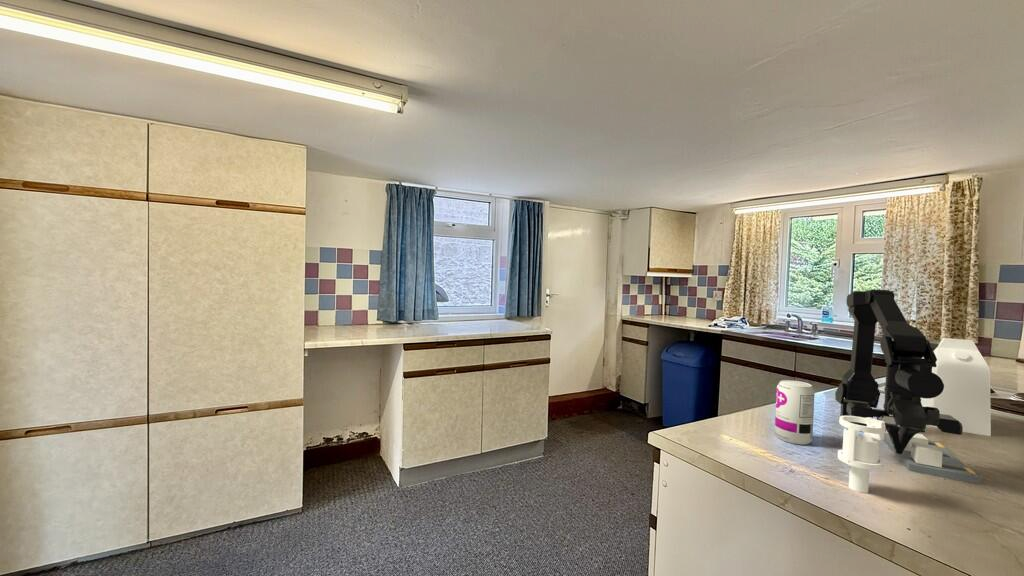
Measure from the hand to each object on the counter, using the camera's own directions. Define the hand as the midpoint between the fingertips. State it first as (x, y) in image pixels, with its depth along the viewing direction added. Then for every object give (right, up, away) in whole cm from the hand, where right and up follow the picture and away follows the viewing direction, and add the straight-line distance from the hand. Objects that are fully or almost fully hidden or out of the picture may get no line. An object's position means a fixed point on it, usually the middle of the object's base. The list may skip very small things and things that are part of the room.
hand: (898, 453), depth 95 cm
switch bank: (+10, -3, +4) cm, 11 cm away
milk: (+42, -3, +28) cm, 51 cm away
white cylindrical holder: (-19, -3, -12) cm, 23 cm away
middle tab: (+8, -1, +5) cm, 9 cm away
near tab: (+4, -1, -2) cm, 5 cm away
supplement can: (-15, -2, +13) cm, 20 cm away
